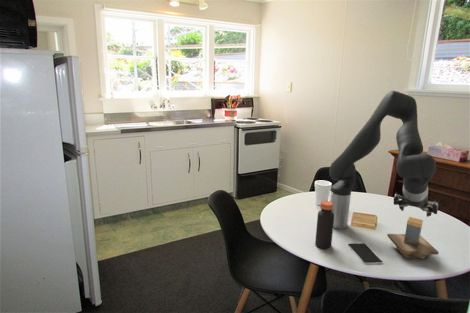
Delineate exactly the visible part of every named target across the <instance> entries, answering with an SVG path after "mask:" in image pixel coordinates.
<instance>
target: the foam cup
mask: <svg viewBox="0 0 470 313" xmlns="http://www.w3.org/2000/svg"><path fill="white" fill-rule="evenodd" d="M332 186H333V185H332V182H330V181H328V180H323V179H322V180H320V179H319V180H315V181H314V191H315V192H314V195H315V204H316V205H317V206H320V207H321V202H322V201H329V199H330V198H329V196H330V195H331V188H332Z"/></svg>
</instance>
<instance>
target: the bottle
mask: <svg viewBox="0 0 470 313" xmlns="http://www.w3.org/2000/svg"><path fill="white" fill-rule="evenodd" d="M332 209H333V203H332V202H330V200H328V201H322V202H321V206H320V210H318V212H317V220H316V228H315V229H316V230H315V241H314V242H315V243H314V244H315V246H316V247H317V248H319V249H321V250H328V249H331V248H332V242H333V232H334V227H333V224H334V214H333V212H332Z"/></svg>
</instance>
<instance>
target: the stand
mask: <svg viewBox="0 0 470 313" xmlns="http://www.w3.org/2000/svg"><path fill="white" fill-rule="evenodd" d="M387 237H388V239H389V240H390V241H391V242H392V243H393V244H394V245H395V248H396V249H397V250H398V251H399V253H401V255H402V256H403V257H404V258H409V259H410V258H414V259H426V256H427V255H434V256H435V255H436V256H437V255H439V254H440V253H439V251H438V249H436V248H435V247H434V246H433V245H432V244H430V242H428V241H427V239H425V238H424V237H423V236H422V235H420V240H419V244H418V246H414V245H410V244H407V243H404V239H405V233H404V234H403V233H387Z"/></svg>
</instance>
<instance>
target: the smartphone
mask: <svg viewBox="0 0 470 313" xmlns="http://www.w3.org/2000/svg"><path fill="white" fill-rule="evenodd" d="M347 246H348V247H349V249H350V250H351V251H352V252H353V253H354V254H355V255H356V256H357V258H358V259H359V260H360V262H362V264H364V265H382V264H383V260H382V259H381V258H380V257H379V256H378V255H377V254H376V253H375V252H374V251H373V250H372V249H371V248H370V247H369V246H368V245H367V244H366V243H365V242H361V243H360V242H358V243H352V242H351V243H348V244H347Z"/></svg>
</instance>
